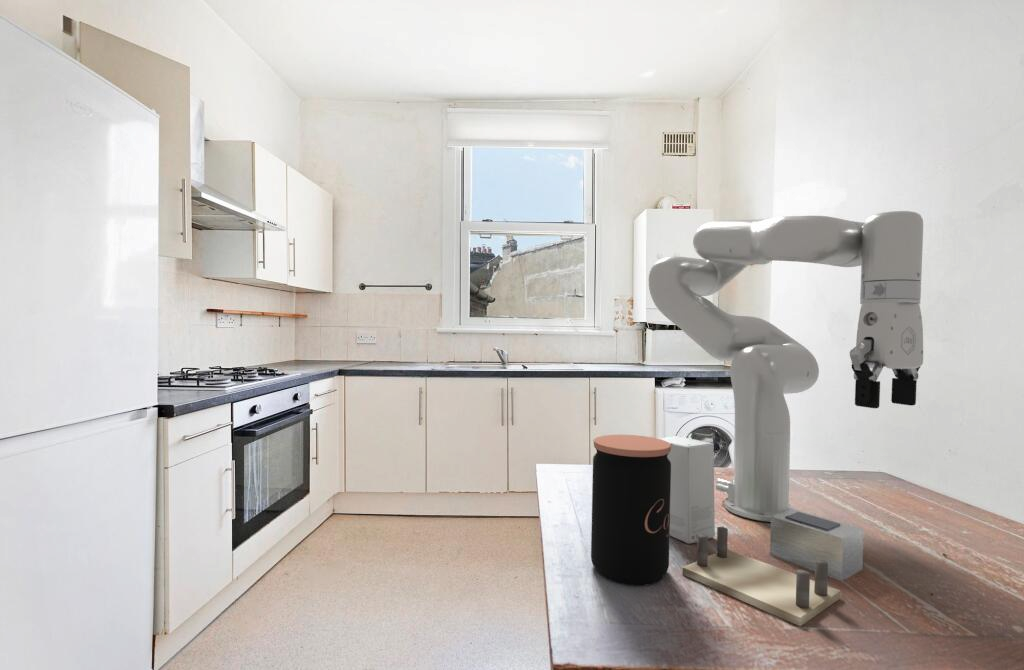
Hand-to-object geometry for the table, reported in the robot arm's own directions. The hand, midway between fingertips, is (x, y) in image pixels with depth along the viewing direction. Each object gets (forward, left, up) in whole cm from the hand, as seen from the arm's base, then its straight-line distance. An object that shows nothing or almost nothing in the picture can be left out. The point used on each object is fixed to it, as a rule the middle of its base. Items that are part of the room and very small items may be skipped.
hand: (885, 405), depth 80 cm
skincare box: (-23, -19, -23) cm, 38 cm away
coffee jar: (-19, -37, -23) cm, 47 cm away
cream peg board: (-6, -26, -23) cm, 35 cm away
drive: (-5, -12, -23) cm, 26 cm away
